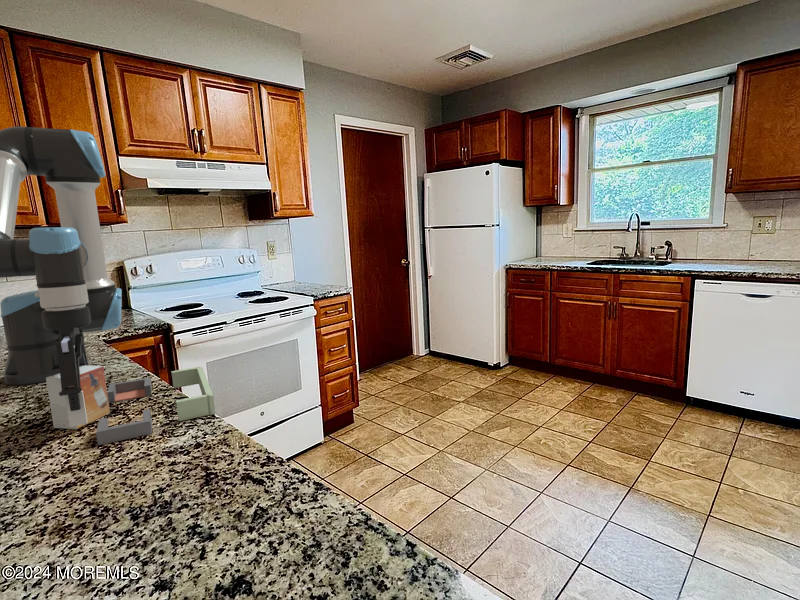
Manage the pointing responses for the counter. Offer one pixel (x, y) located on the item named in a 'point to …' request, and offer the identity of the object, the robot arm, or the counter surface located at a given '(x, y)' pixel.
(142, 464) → the counter surface
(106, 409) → the small box
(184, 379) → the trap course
